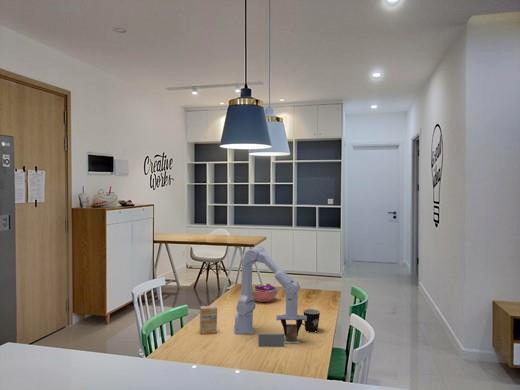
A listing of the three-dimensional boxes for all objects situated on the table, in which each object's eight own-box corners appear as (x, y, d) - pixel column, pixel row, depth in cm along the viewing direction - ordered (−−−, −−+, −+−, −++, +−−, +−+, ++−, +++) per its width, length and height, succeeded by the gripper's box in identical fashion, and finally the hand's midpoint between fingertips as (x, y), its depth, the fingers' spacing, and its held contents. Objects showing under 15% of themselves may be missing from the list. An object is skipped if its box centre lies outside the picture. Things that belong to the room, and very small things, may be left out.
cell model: (244, 299, 264) (244, 282, 264) (271, 296, 272) (271, 280, 272) (254, 306, 249) (255, 288, 249) (282, 303, 257) (283, 285, 257)
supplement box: (200, 334, 197) (201, 308, 197) (199, 331, 202) (200, 305, 202) (216, 333, 199) (217, 307, 199) (215, 330, 204) (216, 305, 204)
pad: (284, 343, 187) (284, 342, 187) (283, 338, 194) (283, 337, 194) (299, 344, 188) (299, 342, 188) (297, 338, 195) (297, 337, 195)
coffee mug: (317, 327, 211) (318, 309, 211) (321, 333, 202) (321, 314, 202) (296, 327, 210) (296, 308, 210) (298, 333, 202) (298, 313, 202)
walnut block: (286, 340, 188) (286, 327, 188) (285, 336, 193) (285, 323, 193) (296, 340, 188) (297, 327, 188) (295, 336, 193) (295, 323, 193)
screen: (258, 346, 184) (258, 334, 184) (258, 345, 185) (258, 333, 185) (284, 346, 184) (284, 334, 184) (283, 345, 185) (284, 333, 185)
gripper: (277, 309, 187) (276, 337, 187) (307, 309, 187) (307, 338, 187) (276, 305, 194) (275, 332, 194) (305, 305, 194) (304, 332, 194)
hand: (291, 335), depth 191 cm, fingers closed on walnut block, 5 cm apart
